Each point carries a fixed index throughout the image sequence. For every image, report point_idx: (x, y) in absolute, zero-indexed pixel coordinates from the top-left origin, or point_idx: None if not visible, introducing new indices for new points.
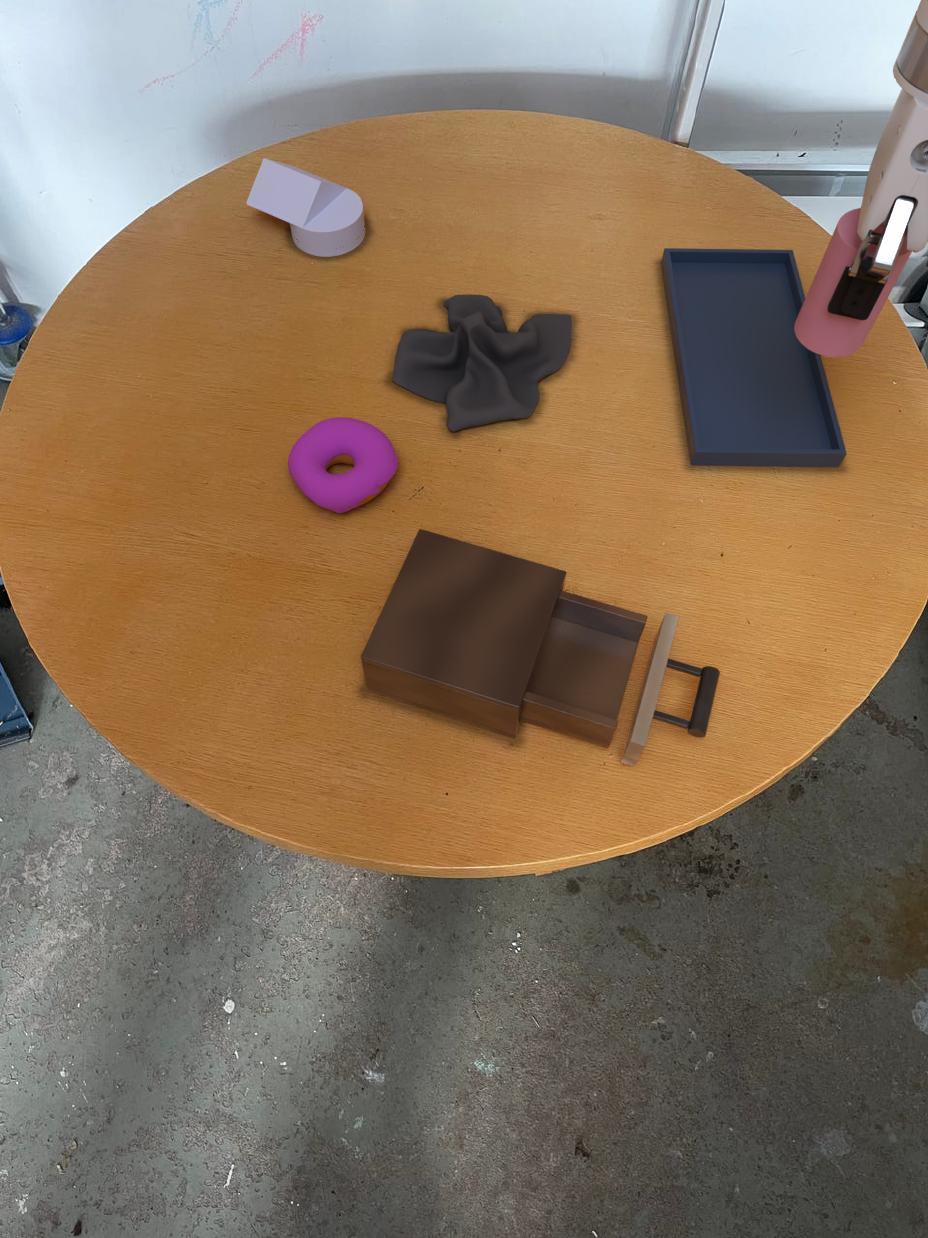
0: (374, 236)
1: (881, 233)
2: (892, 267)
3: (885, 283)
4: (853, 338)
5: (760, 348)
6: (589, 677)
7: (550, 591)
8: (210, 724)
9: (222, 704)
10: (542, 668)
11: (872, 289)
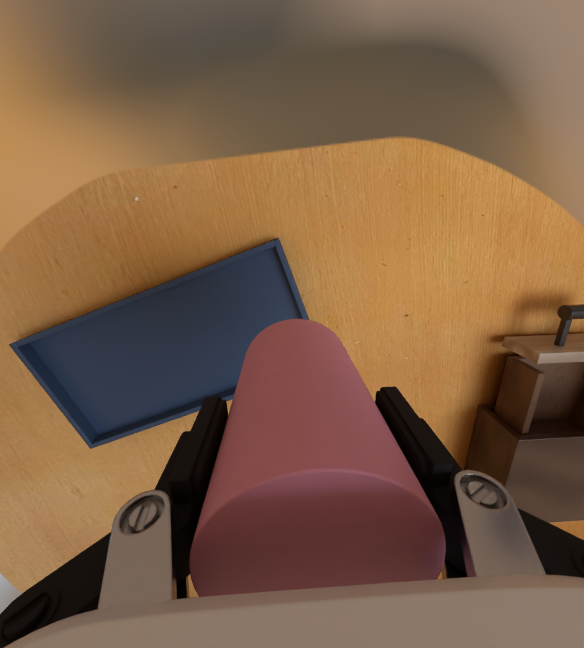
0: (193, 595)
1: (324, 559)
2: (525, 528)
3: (445, 453)
4: (348, 355)
5: (164, 338)
6: (550, 380)
7: (538, 444)
8: (573, 526)
9: (561, 527)
10: (545, 408)
11: (460, 467)
